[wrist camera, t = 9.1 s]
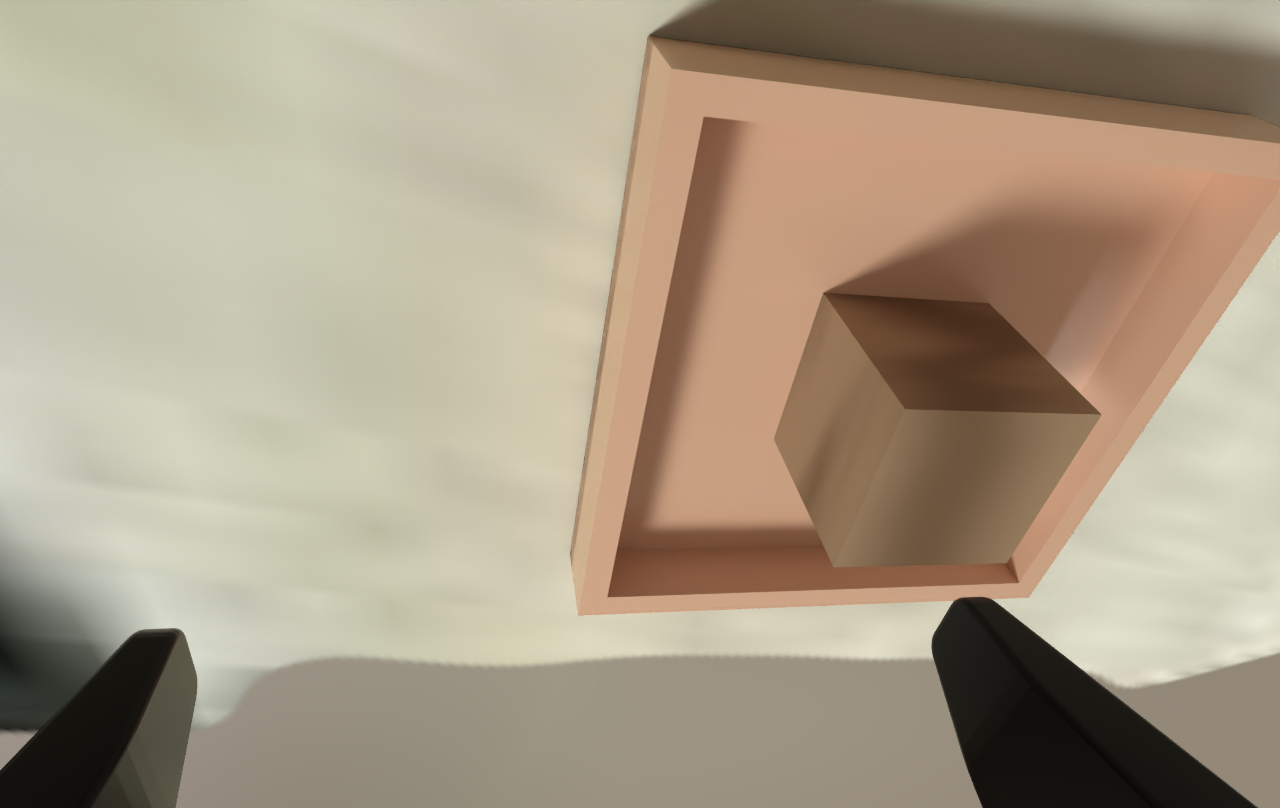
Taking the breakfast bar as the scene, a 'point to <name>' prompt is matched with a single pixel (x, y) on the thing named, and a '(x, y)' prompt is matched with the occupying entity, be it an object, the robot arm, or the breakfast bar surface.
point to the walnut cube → (925, 431)
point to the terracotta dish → (881, 266)
